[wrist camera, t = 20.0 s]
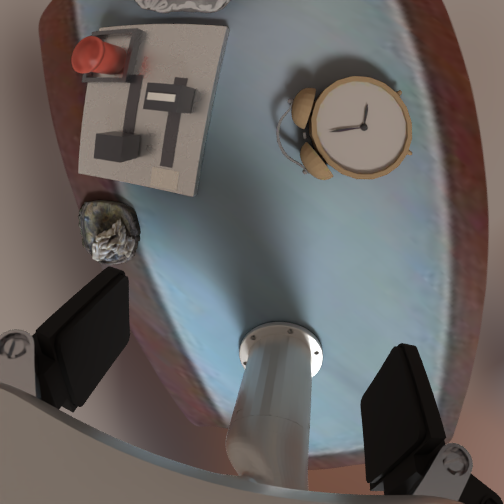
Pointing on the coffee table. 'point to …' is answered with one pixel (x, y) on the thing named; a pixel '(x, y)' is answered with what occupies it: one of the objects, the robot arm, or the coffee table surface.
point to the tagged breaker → (168, 97)
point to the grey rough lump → (109, 231)
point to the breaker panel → (152, 121)
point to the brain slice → (183, 5)
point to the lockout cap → (98, 57)
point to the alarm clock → (352, 128)
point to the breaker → (116, 146)
